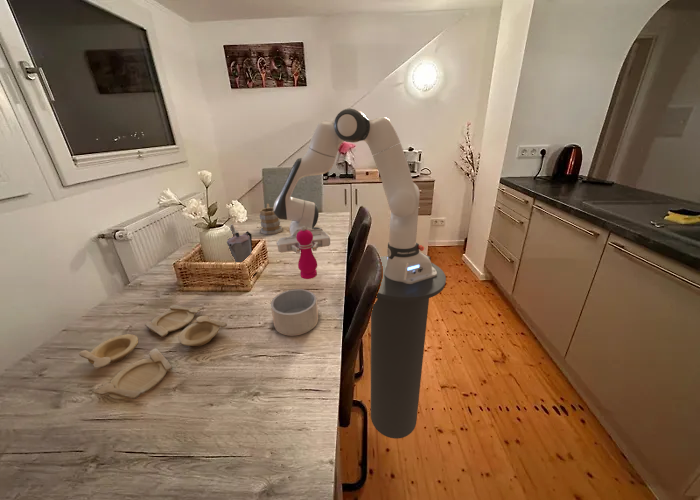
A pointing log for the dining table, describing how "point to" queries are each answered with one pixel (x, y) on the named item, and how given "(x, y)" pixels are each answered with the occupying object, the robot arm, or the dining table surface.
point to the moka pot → (240, 246)
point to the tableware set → (154, 368)
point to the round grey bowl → (294, 312)
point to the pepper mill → (306, 254)
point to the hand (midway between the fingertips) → (306, 250)
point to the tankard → (269, 221)
